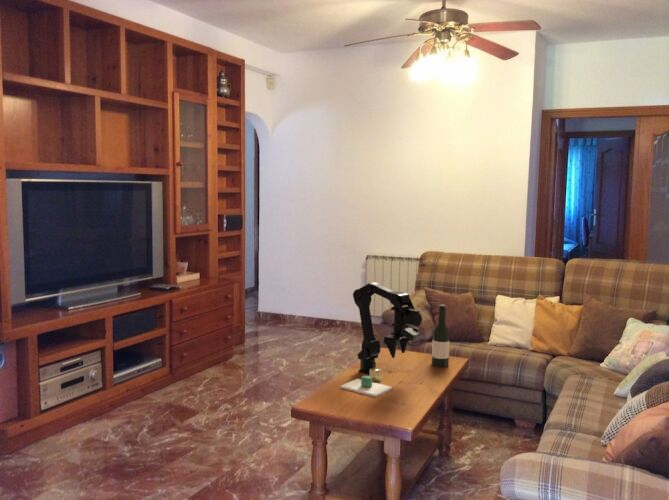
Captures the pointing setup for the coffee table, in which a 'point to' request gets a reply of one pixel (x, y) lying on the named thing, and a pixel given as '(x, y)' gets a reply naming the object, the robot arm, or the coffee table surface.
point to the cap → (375, 374)
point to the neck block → (366, 386)
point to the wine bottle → (441, 341)
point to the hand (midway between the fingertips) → (398, 355)
